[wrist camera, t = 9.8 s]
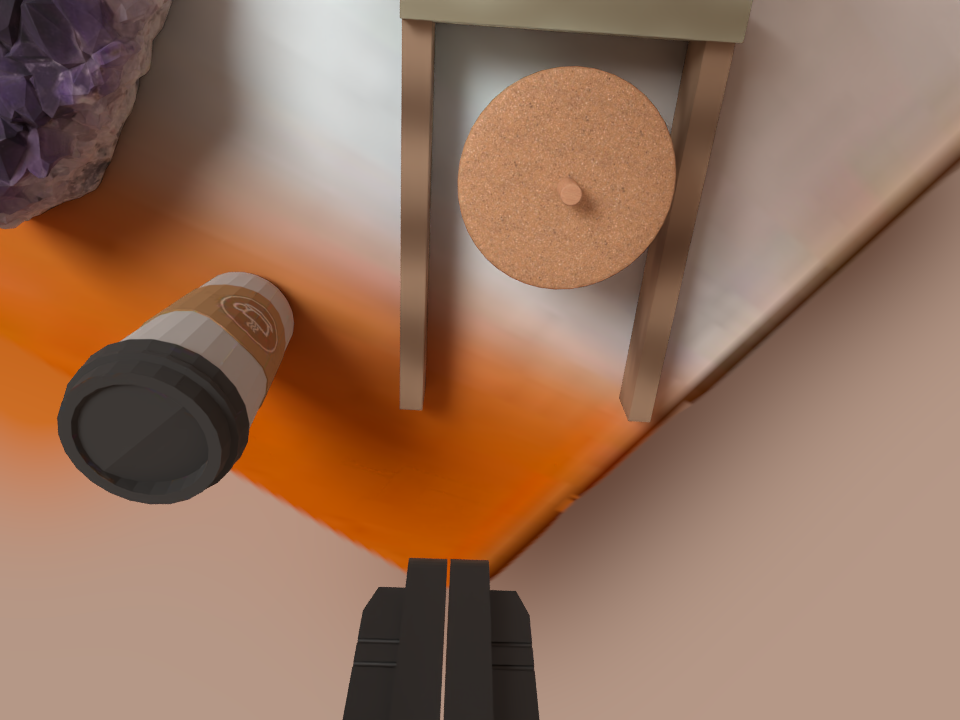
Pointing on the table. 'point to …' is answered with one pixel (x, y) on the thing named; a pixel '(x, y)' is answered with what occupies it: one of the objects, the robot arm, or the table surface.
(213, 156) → the table surface
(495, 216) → the lidded jar
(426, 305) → the channel
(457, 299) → the table surface
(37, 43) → the geode
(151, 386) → the coffee cup
